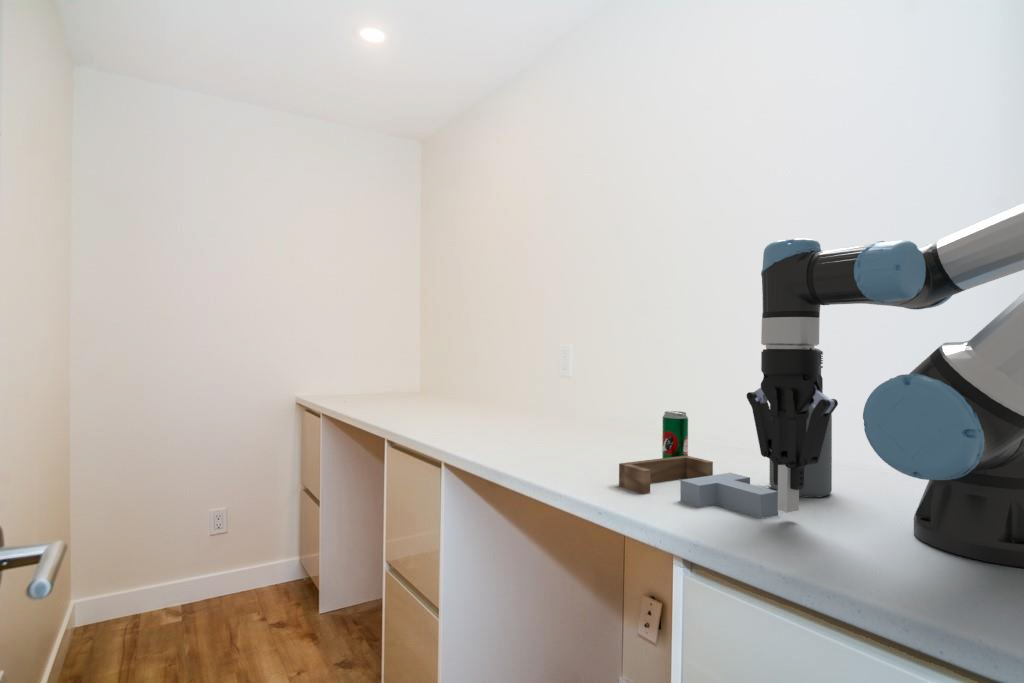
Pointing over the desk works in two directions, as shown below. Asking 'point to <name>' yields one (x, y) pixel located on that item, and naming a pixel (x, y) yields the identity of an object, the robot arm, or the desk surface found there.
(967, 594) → the desk surface
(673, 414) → the soda can
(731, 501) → the t block
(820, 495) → the water bottle
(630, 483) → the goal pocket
